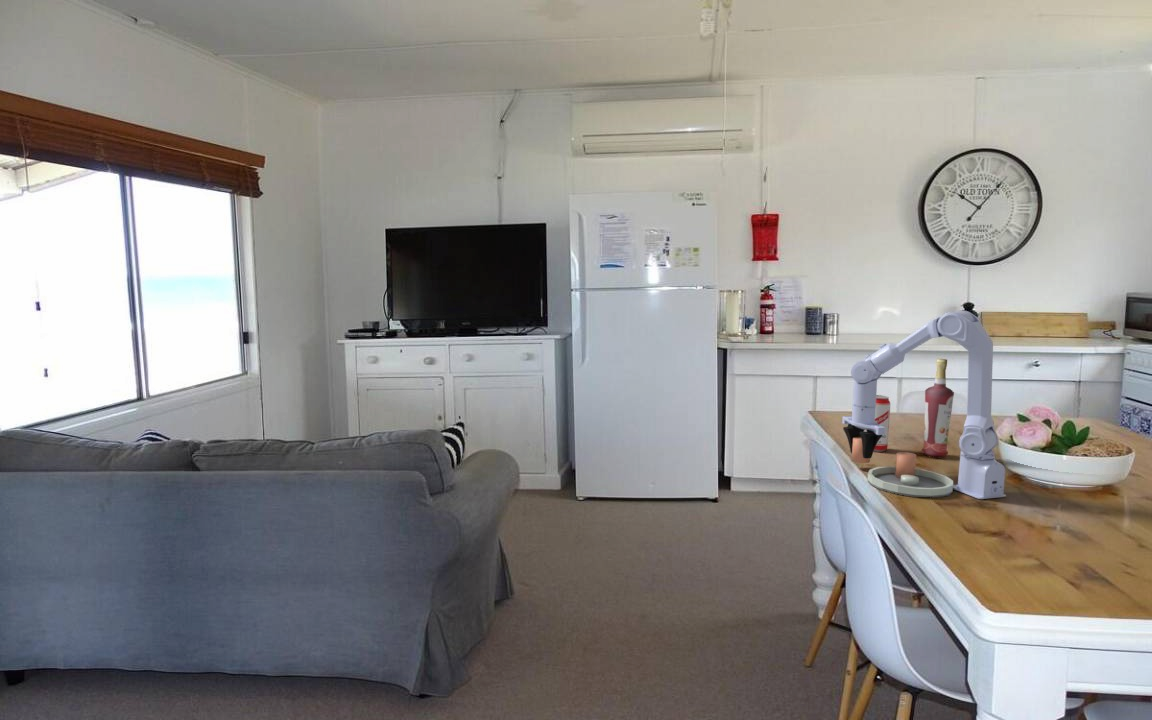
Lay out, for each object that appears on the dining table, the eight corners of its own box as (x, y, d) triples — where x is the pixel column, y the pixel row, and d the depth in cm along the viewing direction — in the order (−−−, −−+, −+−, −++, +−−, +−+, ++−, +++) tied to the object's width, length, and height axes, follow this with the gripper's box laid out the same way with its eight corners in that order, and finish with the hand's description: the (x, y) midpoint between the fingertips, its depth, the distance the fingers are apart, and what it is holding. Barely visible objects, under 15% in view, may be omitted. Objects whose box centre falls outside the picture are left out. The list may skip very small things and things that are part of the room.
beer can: (889, 453, 209) (893, 399, 207) (866, 451, 211) (870, 398, 209) (884, 447, 215) (888, 395, 213) (862, 446, 217) (866, 394, 215)
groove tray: (970, 494, 172) (971, 485, 171) (905, 500, 166) (905, 491, 166) (912, 472, 190) (913, 464, 190) (851, 477, 184) (852, 469, 184)
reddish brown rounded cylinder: (873, 462, 191) (874, 440, 190) (859, 463, 190) (860, 441, 189) (862, 458, 195) (863, 436, 194) (848, 459, 194) (849, 437, 193)
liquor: (941, 460, 202) (949, 361, 198) (915, 455, 207) (923, 359, 204) (953, 456, 206) (961, 359, 203) (927, 451, 212) (934, 357, 208)
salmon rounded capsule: (918, 479, 182) (920, 456, 181) (903, 480, 181) (905, 457, 180) (906, 474, 186) (907, 451, 185) (891, 475, 185) (893, 452, 184)
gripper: (896, 409, 185) (892, 461, 186) (858, 399, 199) (855, 447, 200) (873, 411, 183) (869, 463, 184) (836, 401, 197) (834, 449, 198)
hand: (861, 455), depth 192 cm, fingers closed on reddish brown rounded cylinder, 4 cm apart
